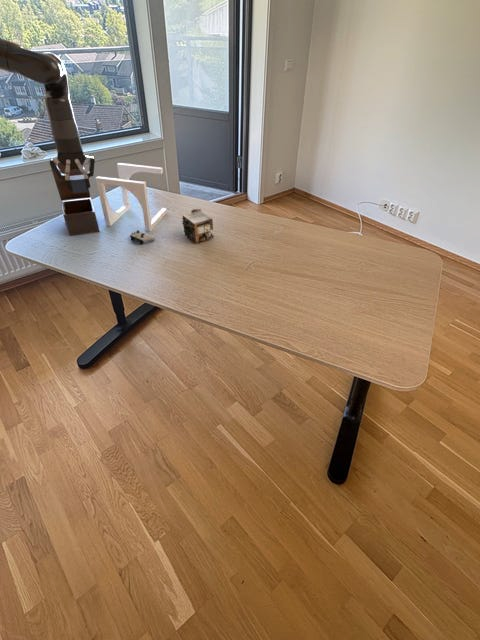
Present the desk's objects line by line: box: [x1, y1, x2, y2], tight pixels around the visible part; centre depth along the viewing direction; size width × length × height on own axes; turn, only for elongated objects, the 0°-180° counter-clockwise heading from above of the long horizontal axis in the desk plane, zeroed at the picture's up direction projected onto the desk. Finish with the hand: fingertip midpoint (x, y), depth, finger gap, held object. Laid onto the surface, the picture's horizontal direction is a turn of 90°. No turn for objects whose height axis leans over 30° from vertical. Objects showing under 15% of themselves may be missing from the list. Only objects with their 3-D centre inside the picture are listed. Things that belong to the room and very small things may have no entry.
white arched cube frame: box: [94, 162, 168, 233], centre depth 148 cm, size 20×20×20 cm
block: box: [70, 175, 87, 193], centre depth 117 cm, size 4×4×4 cm
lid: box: [49, 161, 91, 201], centre depth 141 cm, size 15×12×5 cm
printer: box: [181, 208, 215, 243], centre depth 140 cm, size 11×25×10 cm, turn 24°
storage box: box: [60, 197, 101, 237], centre depth 144 cm, size 15×12×9 cm
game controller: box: [129, 229, 156, 245], centre depth 139 cm, size 10×5×6 cm
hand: (79, 189), depth 118 cm, fingers closed on block, 4 cm apart
